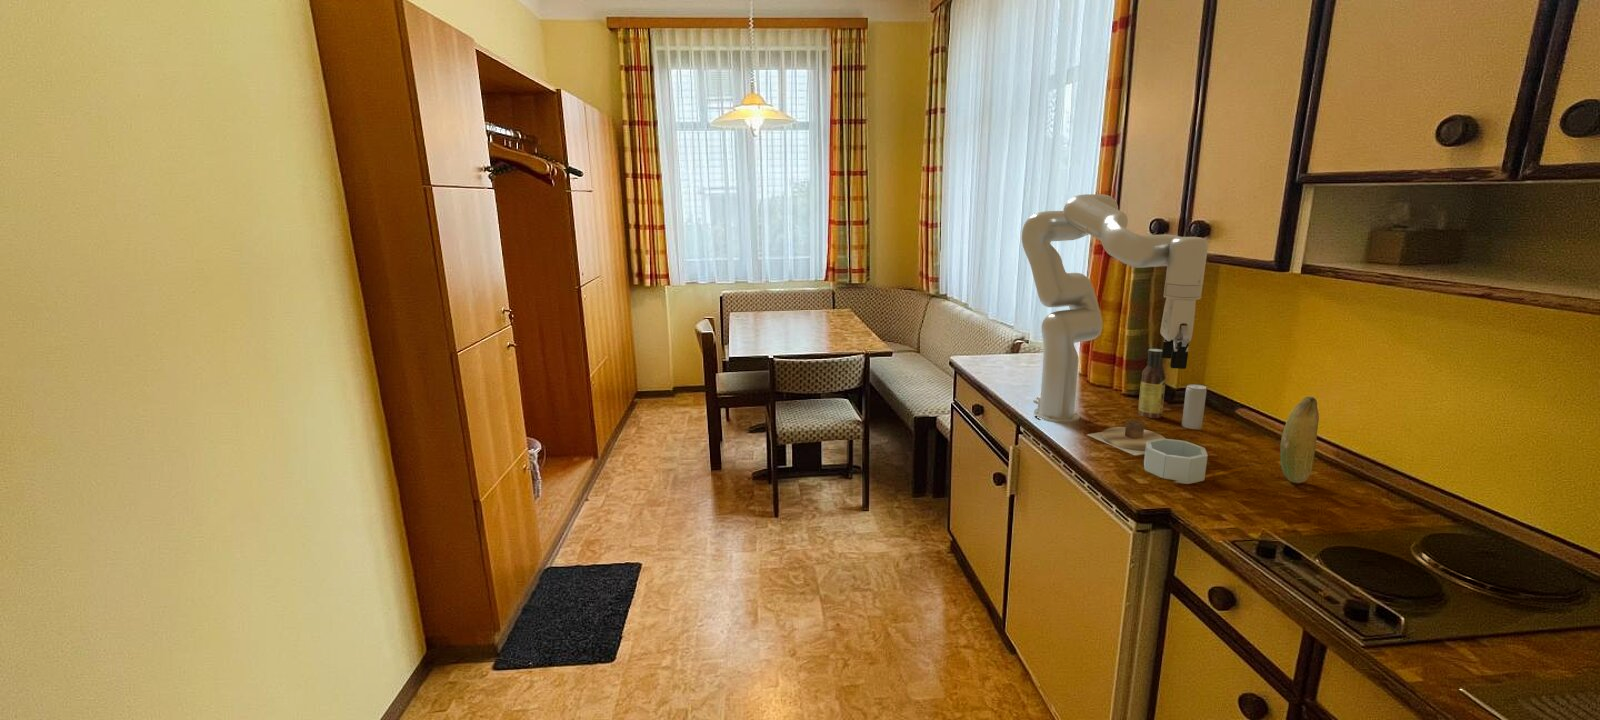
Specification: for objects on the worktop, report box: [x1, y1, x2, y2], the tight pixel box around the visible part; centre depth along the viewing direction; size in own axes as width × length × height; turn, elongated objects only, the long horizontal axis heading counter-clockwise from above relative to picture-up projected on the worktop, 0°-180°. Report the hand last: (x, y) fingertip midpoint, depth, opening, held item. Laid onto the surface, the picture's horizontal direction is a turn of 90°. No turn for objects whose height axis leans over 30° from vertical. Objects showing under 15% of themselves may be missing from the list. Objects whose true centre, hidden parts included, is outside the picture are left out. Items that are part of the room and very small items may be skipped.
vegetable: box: [1279, 396, 1320, 484], centre depth 142 cm, size 6×6×20 cm
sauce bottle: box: [1137, 348, 1167, 419], centre depth 187 cm, size 7×6×20 cm
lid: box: [1101, 419, 1165, 451], centre depth 169 cm, size 15×15×5 cm
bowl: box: [1143, 437, 1209, 485], centre depth 150 cm, size 12×12×6 cm
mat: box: [1086, 431, 1145, 456], centre depth 169 cm, size 16×16×1 cm
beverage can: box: [1181, 383, 1208, 430], centre depth 177 cm, size 5×5×12 cm
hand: (1173, 363), depth 153 cm, fingers open, 9 cm apart
